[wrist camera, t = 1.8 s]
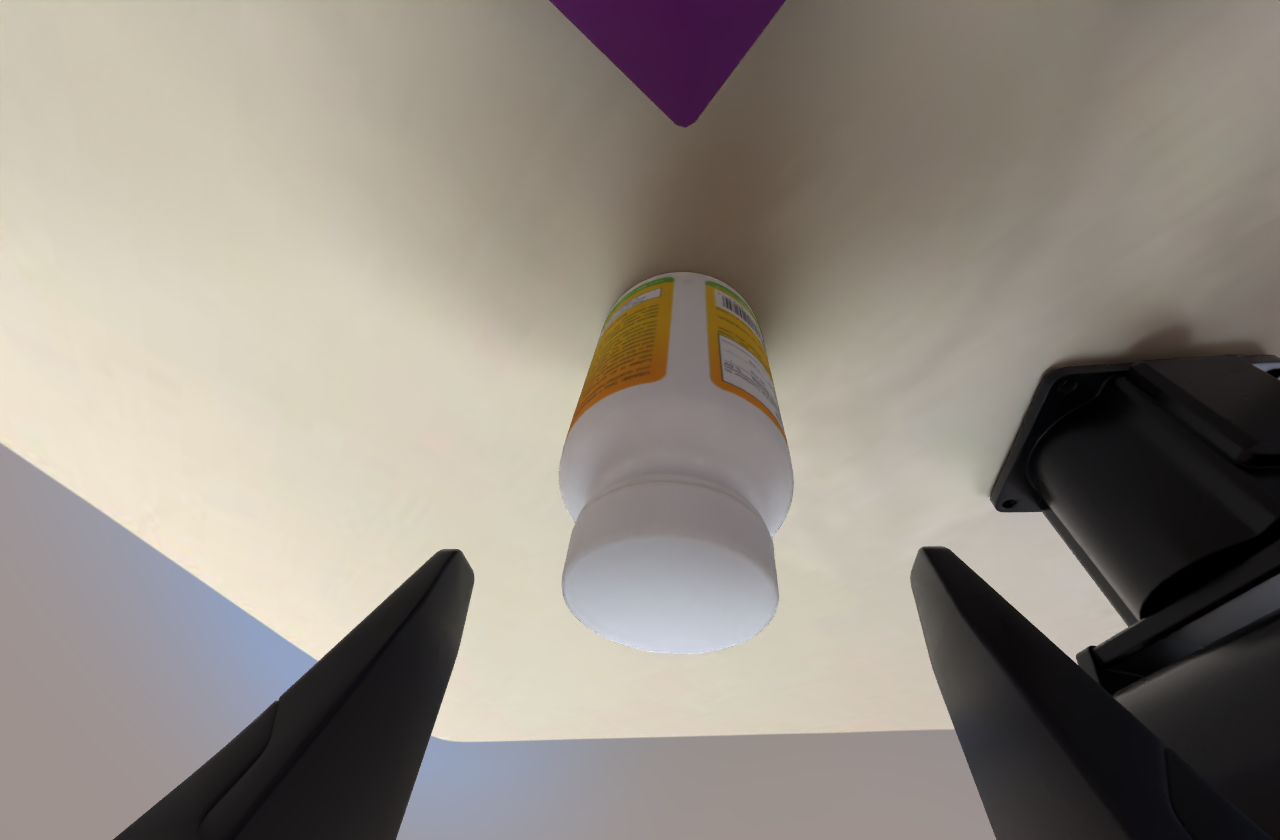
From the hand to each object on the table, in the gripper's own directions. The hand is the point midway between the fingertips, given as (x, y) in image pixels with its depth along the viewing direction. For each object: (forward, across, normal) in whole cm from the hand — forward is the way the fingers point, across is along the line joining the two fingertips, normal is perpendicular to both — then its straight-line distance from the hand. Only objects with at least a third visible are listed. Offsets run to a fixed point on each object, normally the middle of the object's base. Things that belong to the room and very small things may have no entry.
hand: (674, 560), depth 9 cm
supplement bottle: (+9, 0, 0) cm, 9 cm away
